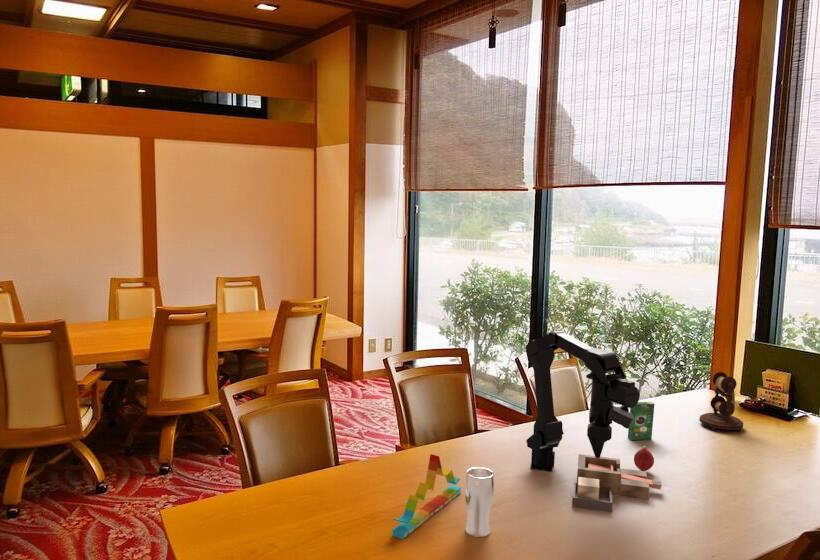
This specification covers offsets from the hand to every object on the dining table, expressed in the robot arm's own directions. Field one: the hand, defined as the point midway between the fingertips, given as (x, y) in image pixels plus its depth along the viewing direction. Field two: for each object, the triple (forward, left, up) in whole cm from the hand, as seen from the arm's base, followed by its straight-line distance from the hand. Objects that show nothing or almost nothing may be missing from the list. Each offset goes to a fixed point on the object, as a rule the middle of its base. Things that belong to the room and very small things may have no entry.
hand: (597, 451), depth 181 cm
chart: (-42, -26, -13) cm, 51 cm away
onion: (+14, +21, -12) cm, 28 cm away
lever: (+8, +6, -9) cm, 14 cm away
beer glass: (-28, -31, -12) cm, 44 cm away
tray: (-1, -5, -12) cm, 13 cm away
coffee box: (+15, +51, -12) cm, 54 cm away
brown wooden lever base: (+4, +6, -12) cm, 14 cm away
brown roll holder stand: (+45, +75, -13) cm, 88 cm away
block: (-2, -5, -11) cm, 13 cm away
